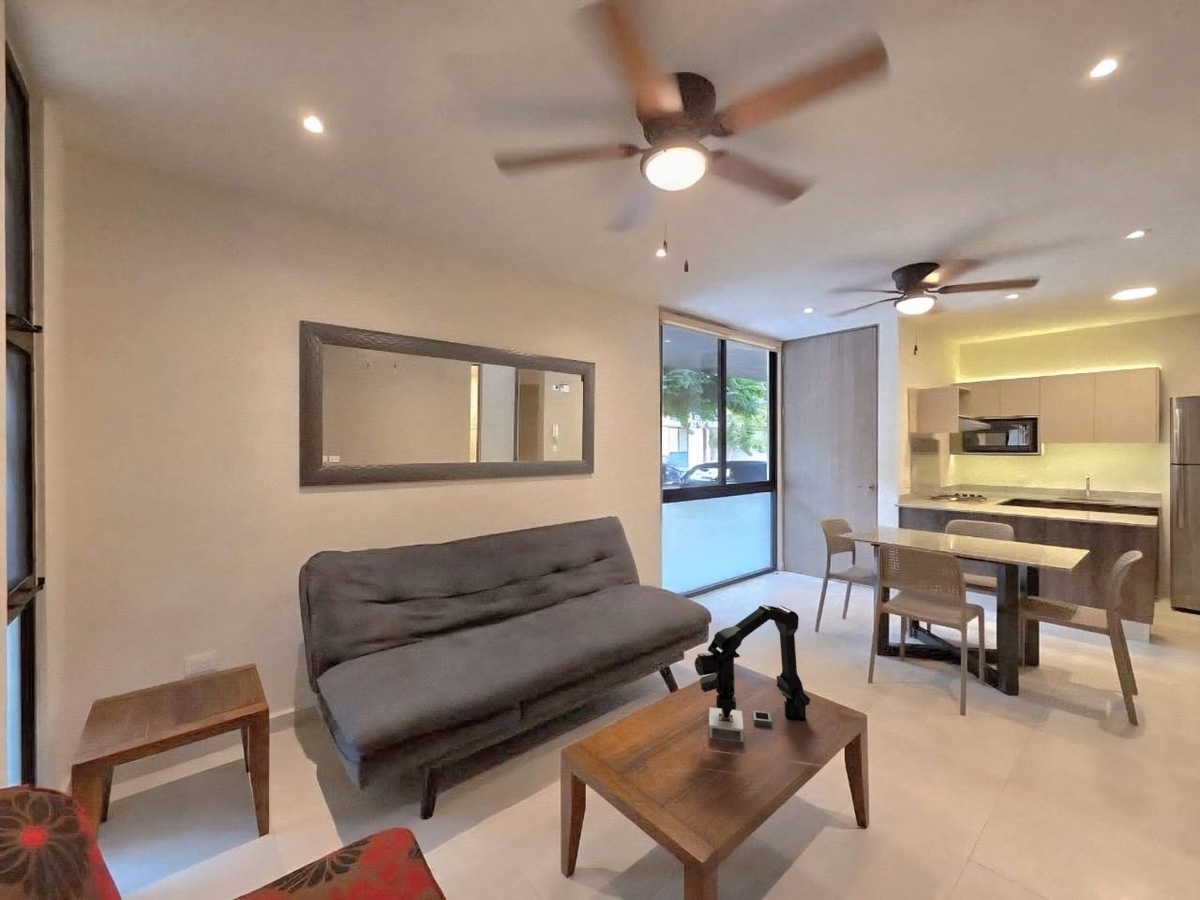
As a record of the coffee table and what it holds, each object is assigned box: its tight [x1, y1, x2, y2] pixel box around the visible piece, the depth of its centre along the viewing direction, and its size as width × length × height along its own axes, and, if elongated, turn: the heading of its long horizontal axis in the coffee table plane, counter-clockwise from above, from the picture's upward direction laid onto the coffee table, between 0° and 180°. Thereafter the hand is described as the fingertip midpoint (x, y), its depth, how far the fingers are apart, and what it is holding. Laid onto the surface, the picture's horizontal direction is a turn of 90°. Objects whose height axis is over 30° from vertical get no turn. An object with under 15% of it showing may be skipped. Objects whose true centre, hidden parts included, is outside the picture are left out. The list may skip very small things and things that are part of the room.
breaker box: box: [708, 707, 744, 743], centre depth 169 cm, size 11×11×5 cm
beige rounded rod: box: [721, 710, 731, 722], centre depth 169 cm, size 3×3×8 cm
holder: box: [752, 710, 773, 728], centre depth 174 cm, size 6×6×2 cm
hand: (725, 715), depth 169 cm, fingers closed on beige rounded rod, 3 cm apart
